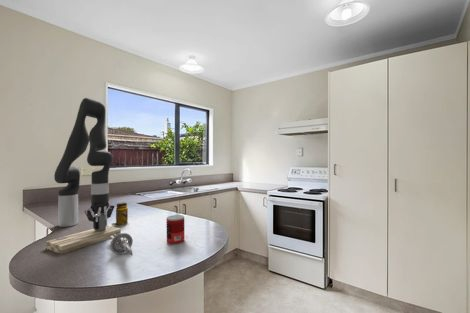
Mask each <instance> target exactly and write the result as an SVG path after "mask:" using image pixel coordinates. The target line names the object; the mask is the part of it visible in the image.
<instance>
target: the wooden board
mask: <svg viewBox="0 0 470 313" xmlns="http://www.w3.org/2000/svg"><path fill="white" fill-rule="evenodd" d="M118 232H119V234H120V233H122V229H121V228H120V227H117V226H114V227H112V225H107V226H106V230H103V231H99V232H98V231H95V229H94V228H91V229H87V230H84V231H80V232H76V233H73V234H69V235H65V236H61V237H57V238H55V239H50V240H46V241H45V249H46V248H47V249H46V250H48V249H49V250H48V251H51V252H54V253H57V254H60V255H64V254H66V253H69V252H72V251H76V250H78V249H81V248H84V247H87V246H91V245H93V244H96V243H100V242H103V241H106V240H108V239H113V238H112V237H110V236H113V235H114V234H116V233H118Z"/></svg>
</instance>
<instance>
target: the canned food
mask: <svg viewBox="0 0 470 313" xmlns="http://www.w3.org/2000/svg"><path fill="white" fill-rule="evenodd" d="M166 242H167V243H168V244H170V245H178V244H181V243H183V242H185V215H181V214H173V215H169V216H167V217H166Z"/></svg>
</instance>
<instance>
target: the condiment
mask: <svg viewBox="0 0 470 313" xmlns="http://www.w3.org/2000/svg"><path fill="white" fill-rule="evenodd" d="M128 209H129V208H128V202H118V203H116V209H115V222H112V223H110V224H111V227H112V228H113V227H121V226H128V225H130V223H129V222H128V221H129V220H128V219H129V218H128V217H129V216H128V215H129V214H128V211H129V210H128Z"/></svg>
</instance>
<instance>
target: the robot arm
mask: <svg viewBox="0 0 470 313" xmlns="http://www.w3.org/2000/svg"><path fill="white" fill-rule="evenodd" d="M78 107H79V108H78V111H77V115H76V118H75V123H74V126H73V128H72V130H71V132H70V135H69V137H68V141H67V143H66V146H65V149H64V152H63V155H62V157H61V159H60V161H59V163H58V165H57V166H56V169H55V171H54V176H53V177H54V181H55V182H56V183H57V184H67V185H66V186H65V187H63V188H61V189H59V190H58V193H57V195H58V197H57V198H58V199H57V200H58V204H57V205H58V206H57V207H58V208H57V209H58V210H57V211H58V213H57V216H58V218H57V219H58V220H57V221H58V222H57V224H58V225H57V226H58V227H61V228H65V227H73V226H76V225H78V224H79V190H80V183H81V182H80V181H81V180H80V179H81V172H80V169H79V168H78V167H76V166H72V164H73V163H74V162H75V161H76V160H77V159H78V158H80V157H81V156H82V155H83V154H84V153H85V152H86V151H87V149H88V147H89V151H88V153H87V157H86V162H87V164H88V165H89V166H91V167H102V169H100V170H94V171H92V172H91V185H90V203H91V204H90V208H88V209H85V210H84V214H85V216H86V217H87V220H88V221H89V222H93V228H92V229H95V230H98V229H99V224H98V219H99V216H100V214H101V215H106V226H108V223H107V222H108V221H107V220H108V219H109V218H111V217H112V215H113V211H114V209H115V205H112V204H111V205H110V203H109V201H110V186H109V172H110V168H111V164H112V162H113V154H112V153H111V152H110V151H103V150H105V149H106V148H107V140H106V131H105V128H106V111H107V110H106V106H105V104H104V103H103V102H101V101H97V100H95V99H92V98H89V97H84V98H83V99H82V100H81V102H80V105H79V106H78ZM87 117H90V118H93V119H96V124H95V125H94V126H93V127H91V129H90V131H89V133H88V130H87V127H86V118H87ZM92 212H93V213H92Z"/></svg>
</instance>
